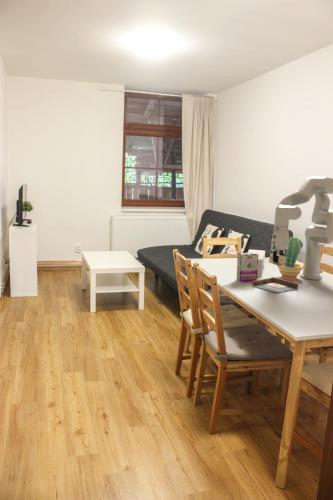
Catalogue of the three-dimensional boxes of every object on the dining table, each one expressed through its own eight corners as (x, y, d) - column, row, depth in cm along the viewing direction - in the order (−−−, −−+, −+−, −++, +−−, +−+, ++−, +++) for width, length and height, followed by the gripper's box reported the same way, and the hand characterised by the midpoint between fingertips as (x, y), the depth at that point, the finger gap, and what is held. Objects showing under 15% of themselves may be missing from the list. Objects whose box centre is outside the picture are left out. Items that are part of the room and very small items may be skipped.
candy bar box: (253, 279, 257) (255, 252, 254) (257, 281, 253) (259, 253, 250) (235, 280, 254) (237, 252, 251) (239, 282, 250) (241, 254, 247)
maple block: (284, 265, 240) (286, 256, 239) (280, 266, 238) (281, 257, 236) (273, 261, 246) (274, 252, 245) (268, 262, 244) (270, 253, 243)
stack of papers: (248, 264, 299) (249, 249, 297) (264, 266, 296) (265, 250, 294) (243, 275, 268) (245, 258, 267) (261, 276, 266) (262, 259, 264)
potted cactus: (303, 282, 256) (307, 240, 251) (276, 279, 259) (280, 238, 254) (301, 275, 270) (304, 236, 266) (275, 274, 273) (278, 234, 269)
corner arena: (273, 282, 253) (273, 277, 252) (297, 289, 240) (298, 283, 239) (252, 286, 242) (252, 281, 242) (276, 293, 229) (277, 288, 228)
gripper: (276, 230, 230) (273, 264, 233) (296, 229, 240) (293, 261, 243) (265, 228, 236) (262, 262, 239) (285, 227, 246) (282, 259, 249)
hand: (278, 261), depth 241 cm, fingers closed on maple block, 4 cm apart
